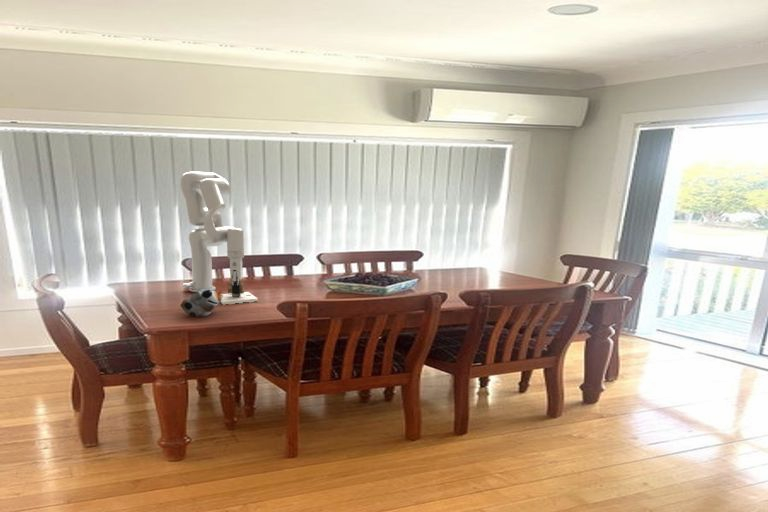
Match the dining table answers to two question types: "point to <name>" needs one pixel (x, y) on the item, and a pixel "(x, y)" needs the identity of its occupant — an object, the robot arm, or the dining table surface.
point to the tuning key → (241, 289)
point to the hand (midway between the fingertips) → (236, 292)
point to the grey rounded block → (202, 302)
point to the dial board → (238, 298)
